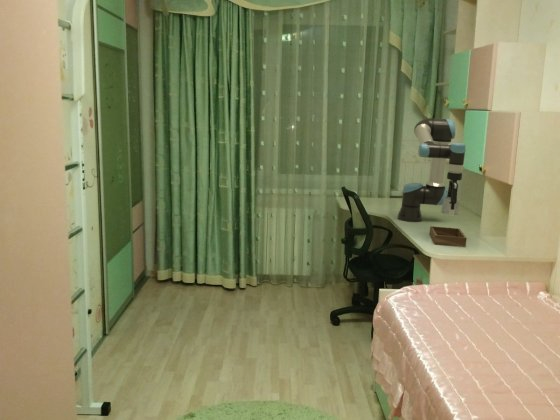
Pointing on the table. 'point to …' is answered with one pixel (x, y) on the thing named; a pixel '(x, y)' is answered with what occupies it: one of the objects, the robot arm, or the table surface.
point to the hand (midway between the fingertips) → (449, 213)
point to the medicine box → (446, 205)
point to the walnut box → (447, 236)
